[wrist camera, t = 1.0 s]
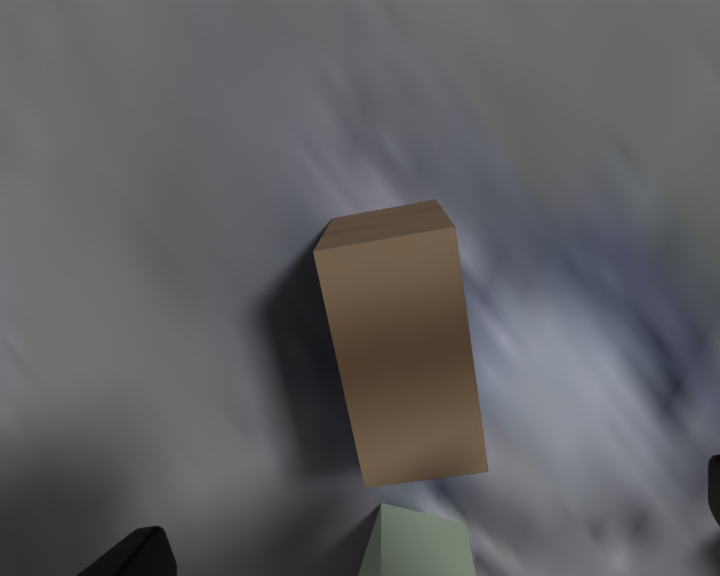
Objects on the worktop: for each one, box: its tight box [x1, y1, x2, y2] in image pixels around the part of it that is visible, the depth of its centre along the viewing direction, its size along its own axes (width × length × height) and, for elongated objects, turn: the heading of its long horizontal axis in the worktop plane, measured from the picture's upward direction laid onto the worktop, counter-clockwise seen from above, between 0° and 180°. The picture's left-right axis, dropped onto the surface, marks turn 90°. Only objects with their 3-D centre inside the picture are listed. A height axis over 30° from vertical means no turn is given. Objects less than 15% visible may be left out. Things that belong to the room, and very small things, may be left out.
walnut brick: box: [313, 200, 488, 488], centre depth 16 cm, size 7×4×5 cm, turn 11°
